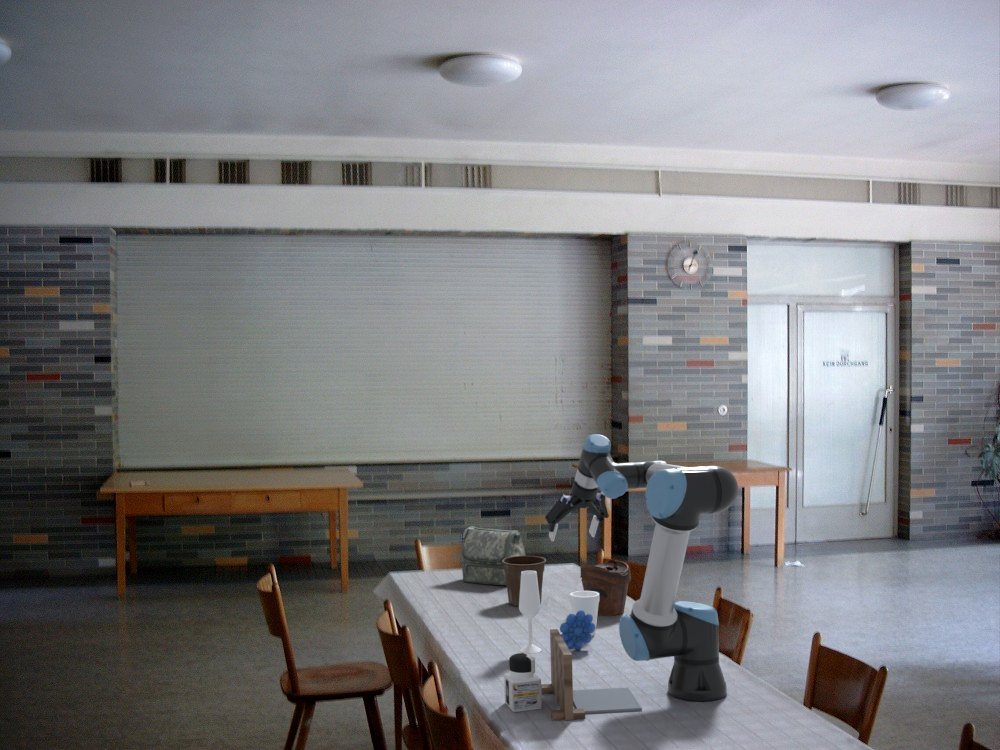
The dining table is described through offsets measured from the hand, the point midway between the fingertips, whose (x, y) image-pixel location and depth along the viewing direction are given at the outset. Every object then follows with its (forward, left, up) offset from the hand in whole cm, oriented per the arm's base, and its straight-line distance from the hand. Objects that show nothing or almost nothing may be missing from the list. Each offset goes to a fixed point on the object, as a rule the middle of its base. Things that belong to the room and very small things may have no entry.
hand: (571, 536), depth 296 cm
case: (+23, -45, -35) cm, 62 cm away
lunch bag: (+91, -55, -35) cm, 112 cm away
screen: (-28, +38, -35) cm, 58 cm away
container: (-22, +45, -35) cm, 61 cm away
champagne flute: (+11, +8, -35) cm, 38 cm away
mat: (-35, +29, -35) cm, 57 cm away
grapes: (+1, -2, -35) cm, 35 cm away
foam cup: (+10, -17, -35) cm, 41 cm away
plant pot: (+54, -35, -35) cm, 74 cm away
